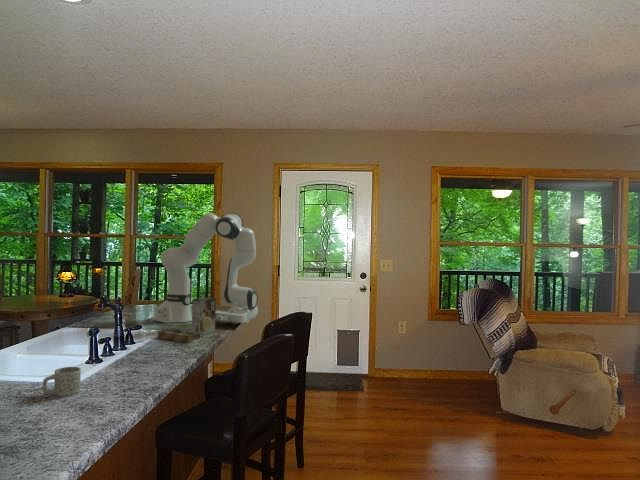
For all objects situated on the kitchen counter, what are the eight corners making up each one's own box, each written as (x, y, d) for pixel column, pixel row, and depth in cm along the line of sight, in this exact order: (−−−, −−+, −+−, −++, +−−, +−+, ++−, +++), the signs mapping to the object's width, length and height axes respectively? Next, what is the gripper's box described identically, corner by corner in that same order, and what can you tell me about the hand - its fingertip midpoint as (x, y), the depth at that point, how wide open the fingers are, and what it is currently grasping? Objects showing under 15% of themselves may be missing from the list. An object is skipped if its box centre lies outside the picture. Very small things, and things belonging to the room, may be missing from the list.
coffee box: (206, 330, 230) (207, 297, 230) (215, 332, 226) (216, 298, 226) (191, 333, 223) (192, 298, 223) (199, 335, 219) (200, 300, 219)
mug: (74, 387, 142) (74, 365, 142) (84, 392, 138) (84, 369, 138) (37, 395, 134) (37, 372, 134) (47, 401, 130) (47, 377, 130)
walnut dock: (157, 337, 211) (157, 331, 211) (173, 334, 220) (173, 327, 220) (189, 343, 203) (189, 336, 203) (204, 338, 212) (204, 332, 212)
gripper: (219, 306, 252) (202, 310, 240) (252, 310, 243) (235, 314, 231) (219, 318, 252) (202, 322, 240) (251, 322, 243) (235, 327, 231)
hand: (219, 318), depth 235 cm, fingers closed
